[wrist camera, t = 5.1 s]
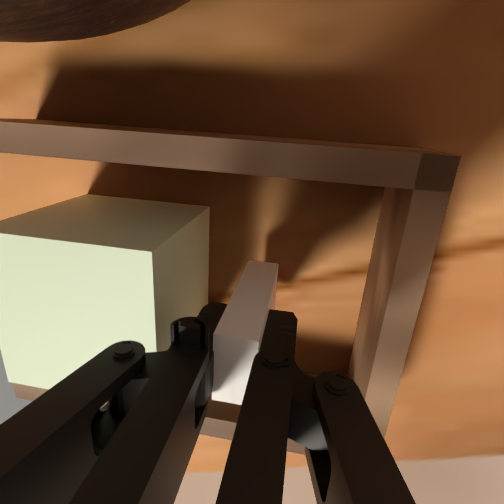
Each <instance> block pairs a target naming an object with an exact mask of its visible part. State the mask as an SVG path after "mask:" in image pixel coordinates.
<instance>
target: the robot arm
mask: <svg viewBox="0 0 504 504" xmlns="http://www.w3.org/2000/svg"><path fill="white" fill-rule="evenodd" d="M278 266H279V264H278V263H270V262H261V261H253V260H249V261H248V263H247V265H246V267H245V269H244V271H243V273H242V275H241V278H240V280H239V282H238V284H237V286H236V288H235V290H234V292H233V294H232V296H231V298H230V300H229V302H228V304H223V303H216V302H210V303H208V304H207V305H205V306H204V307H203V308H202V309H201V311H200V312H199V315H198V316H197V317H189V316H188V317H182V318H179V319H177V320H175V321H173V322H172V323H171V324H170V333H171V346H170V347H169V349H168V350H166V351H160V352H146V353H145V348H144V346H143V344H141V343H139V342H137V341H132V340H128V341H121V342H117V343H114V344H112V345H110V346H109V347H107V348H106V349H104V350H103V351H102V352H100V353H99V354H97V355H96V356H95V357H93V358H92V359H91V360H89V361H88V362H86V363H85V364H84V365H82V366H81V367H79V368H78V369H77V370H75V371H74V372H72V373H71V374H70V375H68V376H67V377H66V378H64V379H63V380H61V381H60V382H59V383H57V384H56V385H54V386H53V387H52V388H50V389H49V390H48V391H46V392H45V393H43V394H42V395H41V396H39V397H38V398H36V399H35V400H34V401H32V402H31V403H30V404H28V405H27V406H25V407H24V408H23V409H21V410H20V411H18V412H17V413H16V414H14V415H13V416H11V417H10V418H9V419H7V420H6V421H5V422H3V423H2V424H0V504H174V501H175V498H176V496H177V493H178V490H179V487H180V485H181V482H182V479H183V476H184V474H185V471H186V468H187V466H188V463H189V460H190V458H191V455H192V452H193V449H194V447H195V444H196V441H197V439H198V436H199V433H200V430H201V428H202V425H203V422H204V419H205V417H206V414H207V411H208V398H209V395H210V393H211V390H212V400H216V401H222V402H227V403H233V404H238V405H241V409H240V413H239V416H238V420H237V424H236V428H235V432H234V435H233V439H232V443H231V447H230V451H229V455H228V458H227V462H226V466H225V470H224V474H223V477H222V481H221V485H220V489H219V493H218V497H217V500H216V504H282V496H283V485H284V474H285V463H286V451H287V440H288V438H289V439H291V440H293V441H295V442H297V443H299V444H301V445H303V446H305V454H306V459H307V463H308V467H309V471H310V476H311V480H312V484H313V488H314V492H315V497H316V501H317V504H416V503H415V501H414V499H413V497H412V495H411V493H410V491H409V489H408V487H407V485H406V483H405V481H404V479H403V477H402V475H401V473H400V471H399V469H398V467H397V465H396V463H395V460H394V458H393V456H392V454H391V452H390V450H389V448H388V446H387V444H386V442H385V440H384V438H383V436H382V434H381V432H380V430H379V428H378V426H377V424H376V422H375V420H374V418H373V416H372V414H371V412H370V410H369V407H368V405H367V403H366V401H365V399H364V397H363V395H362V393H361V391H360V389H359V387H358V386H357V384H356V383H355V382H354V381H353V380H352V379H351V378H349V377H348V376H346V375H343V374H341V373H337V372H324V373H322V374H320V375H318V376H317V378H315V377H312V376H310V375H308V374H306V373H304V372H303V371H302V370H300V369H299V368H298V366H297V365H296V363H295V360H294V354H295V342H296V331H297V318H296V317H295V315H294V313H293V312H286V311H279V310H274V307H275V297H276V287H277V276H278ZM106 402H107V404H106V405H104V404H105V403H106ZM103 405H104V406H103ZM102 406H103V407H102ZM101 407H102V408H101Z"/></svg>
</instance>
